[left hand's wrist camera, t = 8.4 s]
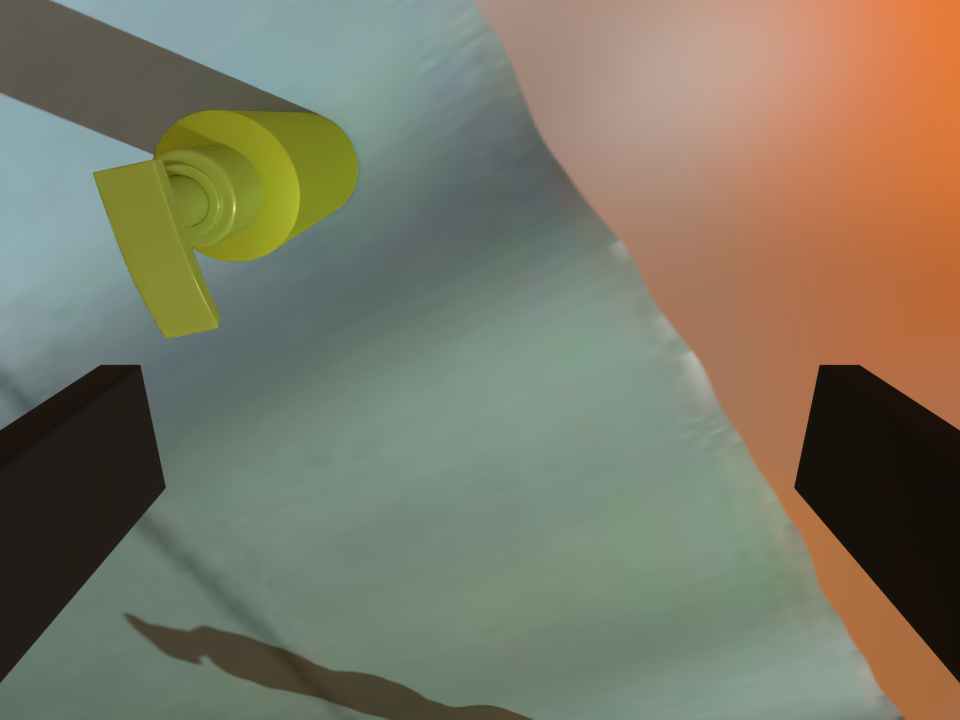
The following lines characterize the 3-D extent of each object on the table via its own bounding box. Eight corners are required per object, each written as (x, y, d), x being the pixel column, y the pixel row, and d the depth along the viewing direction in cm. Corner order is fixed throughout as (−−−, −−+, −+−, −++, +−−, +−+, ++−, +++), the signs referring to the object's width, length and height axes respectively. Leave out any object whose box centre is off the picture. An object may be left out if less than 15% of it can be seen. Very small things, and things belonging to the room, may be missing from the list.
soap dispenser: (281, 241, 39) (99, 355, 20) (245, 124, 36) (-1, 131, 18) (374, 222, 39) (274, 321, 20) (343, 102, 36) (196, 86, 17)
